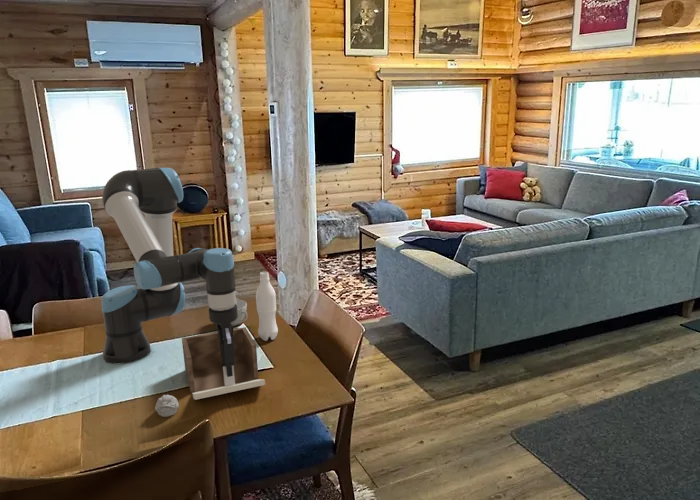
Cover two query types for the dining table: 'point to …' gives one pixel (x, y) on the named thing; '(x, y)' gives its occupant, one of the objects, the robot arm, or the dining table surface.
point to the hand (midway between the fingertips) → (229, 384)
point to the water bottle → (266, 308)
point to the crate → (218, 360)
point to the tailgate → (228, 389)
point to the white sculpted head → (166, 405)
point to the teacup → (240, 312)
